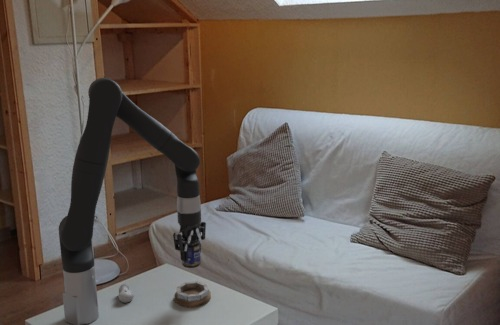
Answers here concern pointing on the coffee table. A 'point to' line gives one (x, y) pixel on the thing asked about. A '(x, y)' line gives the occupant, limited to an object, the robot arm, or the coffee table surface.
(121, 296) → the white head bust
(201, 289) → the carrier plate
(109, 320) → the coffee table surface
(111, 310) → the coffee table surface
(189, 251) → the pill bottle
